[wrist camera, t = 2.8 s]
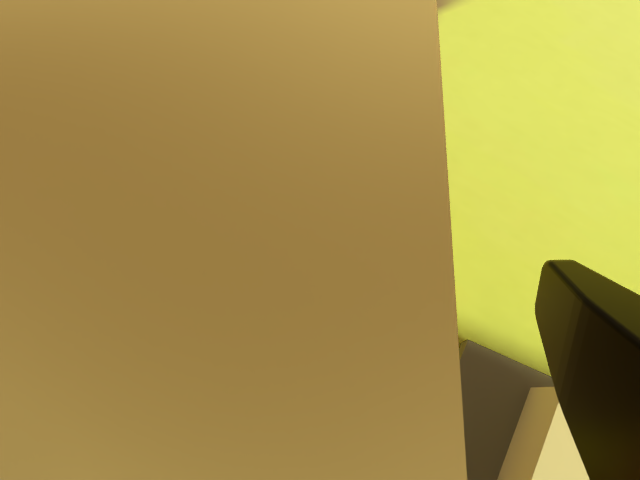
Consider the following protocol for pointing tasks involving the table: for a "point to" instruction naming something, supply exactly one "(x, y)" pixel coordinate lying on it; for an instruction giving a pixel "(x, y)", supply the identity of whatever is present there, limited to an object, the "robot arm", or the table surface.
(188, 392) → the beech pillar
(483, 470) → the building board
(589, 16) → the table surface
